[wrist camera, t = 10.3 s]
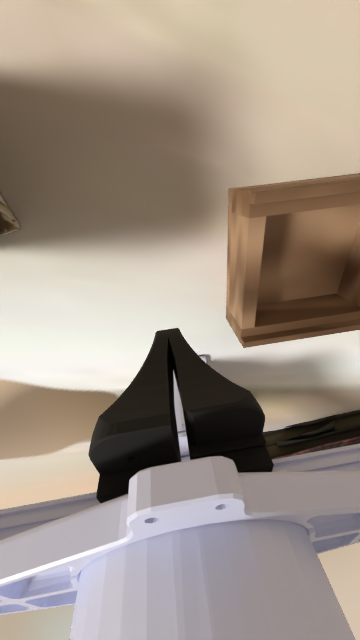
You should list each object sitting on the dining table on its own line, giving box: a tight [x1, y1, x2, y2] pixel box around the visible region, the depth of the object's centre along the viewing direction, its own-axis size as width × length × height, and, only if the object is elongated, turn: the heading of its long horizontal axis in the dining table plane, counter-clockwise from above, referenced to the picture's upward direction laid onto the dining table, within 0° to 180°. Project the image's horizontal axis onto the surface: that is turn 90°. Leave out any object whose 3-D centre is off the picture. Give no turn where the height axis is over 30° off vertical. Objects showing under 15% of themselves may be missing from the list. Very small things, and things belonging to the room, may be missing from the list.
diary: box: [262, 410, 360, 460], centre depth 41 cm, size 19×25×5 cm
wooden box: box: [226, 173, 360, 348], centre depth 19 cm, size 12×13×5 cm
